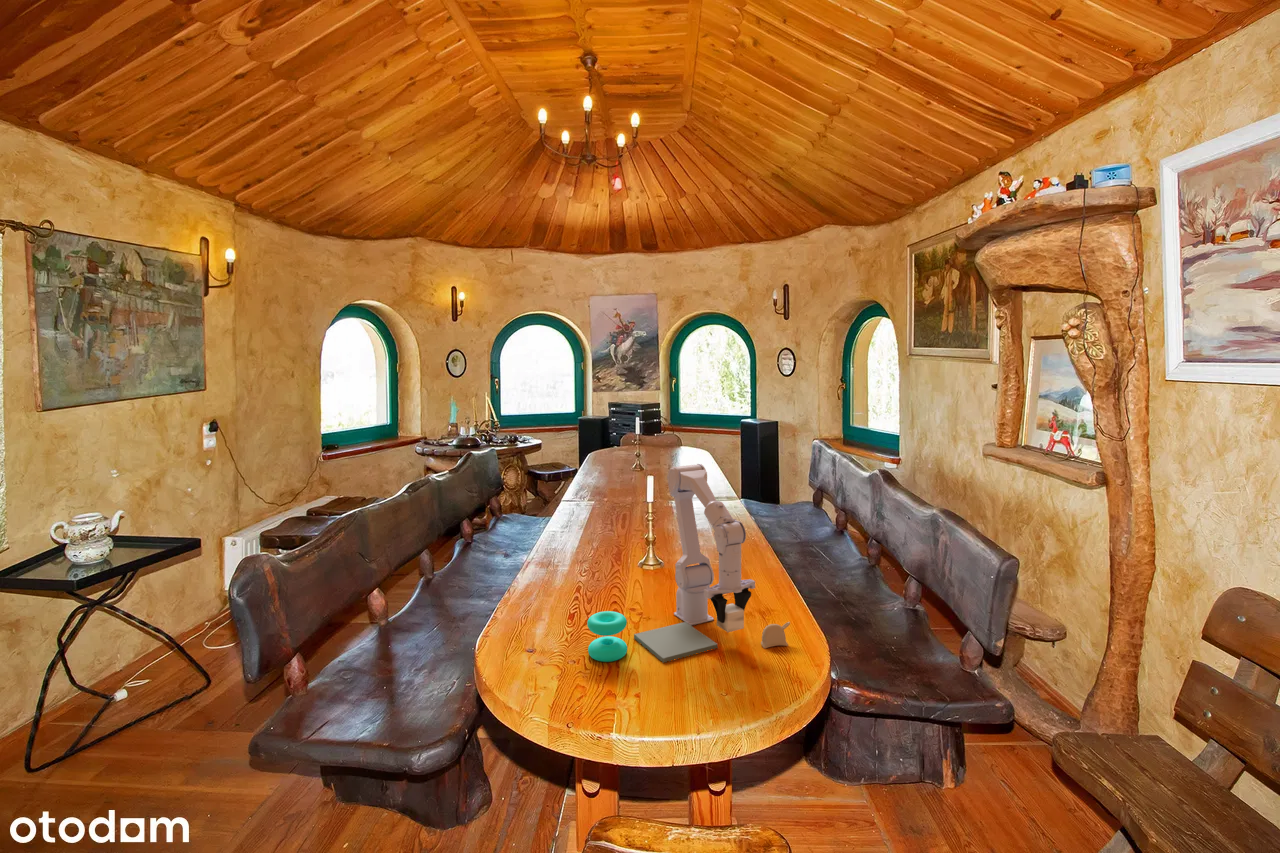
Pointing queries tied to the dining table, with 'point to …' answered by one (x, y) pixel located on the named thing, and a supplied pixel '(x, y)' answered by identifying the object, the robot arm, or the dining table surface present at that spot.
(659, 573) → the dining table surface
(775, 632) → the decorative ornament
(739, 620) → the cream cube
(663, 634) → the board
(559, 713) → the dining table surface
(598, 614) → the donuts
